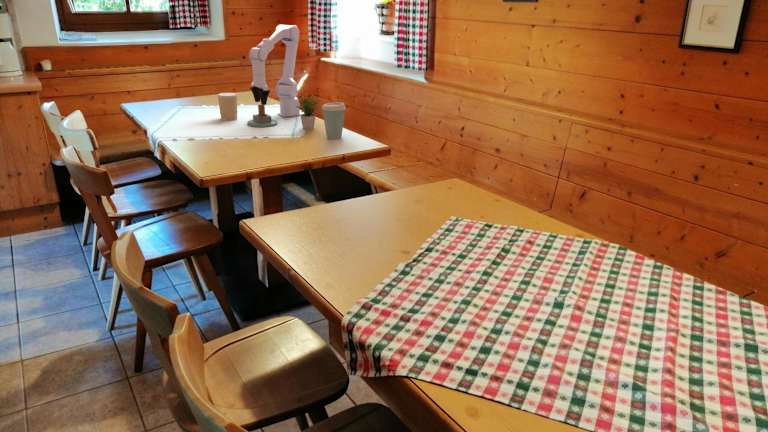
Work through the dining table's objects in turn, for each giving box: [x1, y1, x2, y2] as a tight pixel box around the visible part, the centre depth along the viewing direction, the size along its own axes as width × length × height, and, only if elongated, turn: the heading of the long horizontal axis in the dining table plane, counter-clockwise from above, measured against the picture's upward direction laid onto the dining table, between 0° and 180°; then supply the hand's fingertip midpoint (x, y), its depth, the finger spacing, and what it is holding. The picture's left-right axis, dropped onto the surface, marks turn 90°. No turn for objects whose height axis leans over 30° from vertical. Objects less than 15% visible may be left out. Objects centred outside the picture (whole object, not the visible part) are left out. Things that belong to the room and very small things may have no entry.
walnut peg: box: [257, 104, 266, 117], centre depth 268 cm, size 3×3×8 cm
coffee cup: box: [217, 92, 238, 121], centre depth 276 cm, size 9×9×12 cm
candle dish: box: [247, 113, 278, 128], centre depth 269 cm, size 14×14×4 cm
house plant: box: [295, 94, 323, 131], centre depth 260 cm, size 14×14×16 cm
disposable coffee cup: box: [321, 101, 347, 140], centre depth 247 cm, size 11×11×15 cm
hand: (260, 103), depth 269 cm, fingers open, 7 cm apart
